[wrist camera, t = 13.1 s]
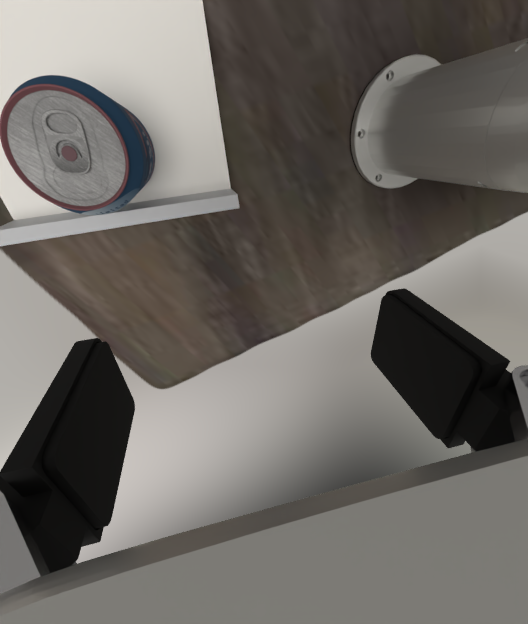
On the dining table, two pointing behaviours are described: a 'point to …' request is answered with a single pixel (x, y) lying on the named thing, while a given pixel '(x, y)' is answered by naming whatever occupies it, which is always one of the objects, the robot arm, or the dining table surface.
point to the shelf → (122, 103)
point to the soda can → (75, 145)
